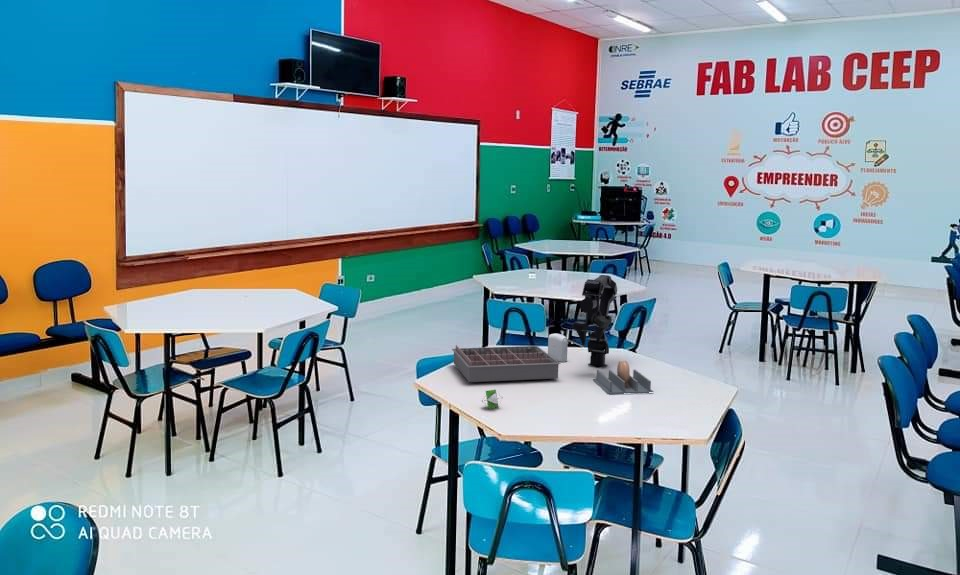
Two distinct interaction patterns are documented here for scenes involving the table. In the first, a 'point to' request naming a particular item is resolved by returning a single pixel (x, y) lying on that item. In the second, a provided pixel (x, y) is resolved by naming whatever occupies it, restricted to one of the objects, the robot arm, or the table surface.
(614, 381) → the dish rack
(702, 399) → the table surface
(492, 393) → the geometric puzzle
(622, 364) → the peach disc
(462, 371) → the organizer tray
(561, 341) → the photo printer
